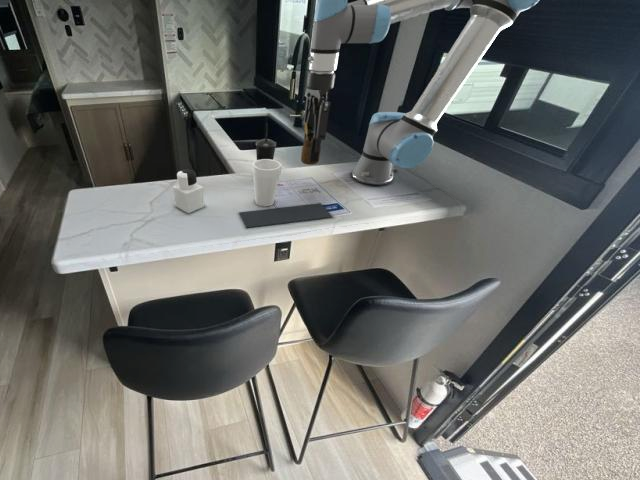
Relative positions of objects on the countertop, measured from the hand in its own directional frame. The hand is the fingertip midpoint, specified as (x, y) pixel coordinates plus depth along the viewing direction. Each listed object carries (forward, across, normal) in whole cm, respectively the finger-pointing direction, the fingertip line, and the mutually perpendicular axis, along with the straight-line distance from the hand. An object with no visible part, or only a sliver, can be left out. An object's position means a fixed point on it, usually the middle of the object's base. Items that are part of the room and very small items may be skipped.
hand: (309, 157), depth 105 cm
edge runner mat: (+14, +10, -10) cm, 20 cm away
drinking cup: (+14, -18, -10) cm, 25 cm away
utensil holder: (+2, 0, 0) cm, 2 cm away
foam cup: (+14, 0, -14) cm, 20 cm away
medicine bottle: (+14, -1, -40) cm, 43 cm away
